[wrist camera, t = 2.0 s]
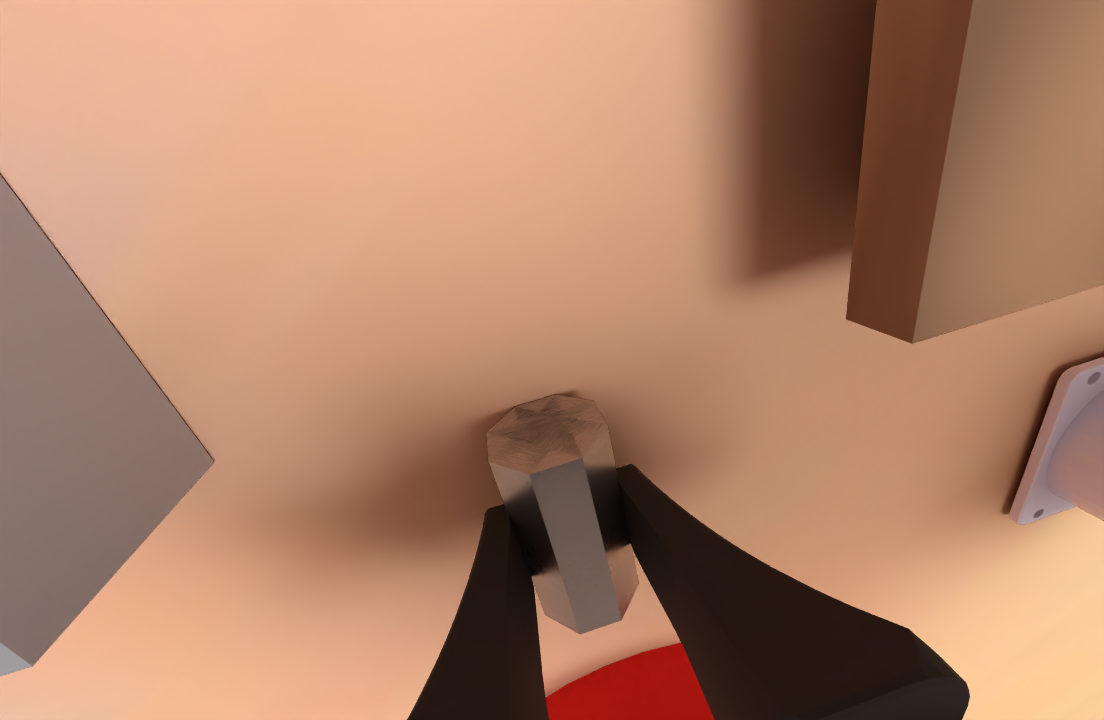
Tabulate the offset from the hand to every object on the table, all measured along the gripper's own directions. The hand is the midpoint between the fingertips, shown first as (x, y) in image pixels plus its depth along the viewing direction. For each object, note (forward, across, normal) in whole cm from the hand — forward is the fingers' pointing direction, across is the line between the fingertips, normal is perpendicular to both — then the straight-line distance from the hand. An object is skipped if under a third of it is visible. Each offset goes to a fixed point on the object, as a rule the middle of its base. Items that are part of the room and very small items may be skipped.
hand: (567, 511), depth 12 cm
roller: (+1, 0, 0) cm, 1 cm away
